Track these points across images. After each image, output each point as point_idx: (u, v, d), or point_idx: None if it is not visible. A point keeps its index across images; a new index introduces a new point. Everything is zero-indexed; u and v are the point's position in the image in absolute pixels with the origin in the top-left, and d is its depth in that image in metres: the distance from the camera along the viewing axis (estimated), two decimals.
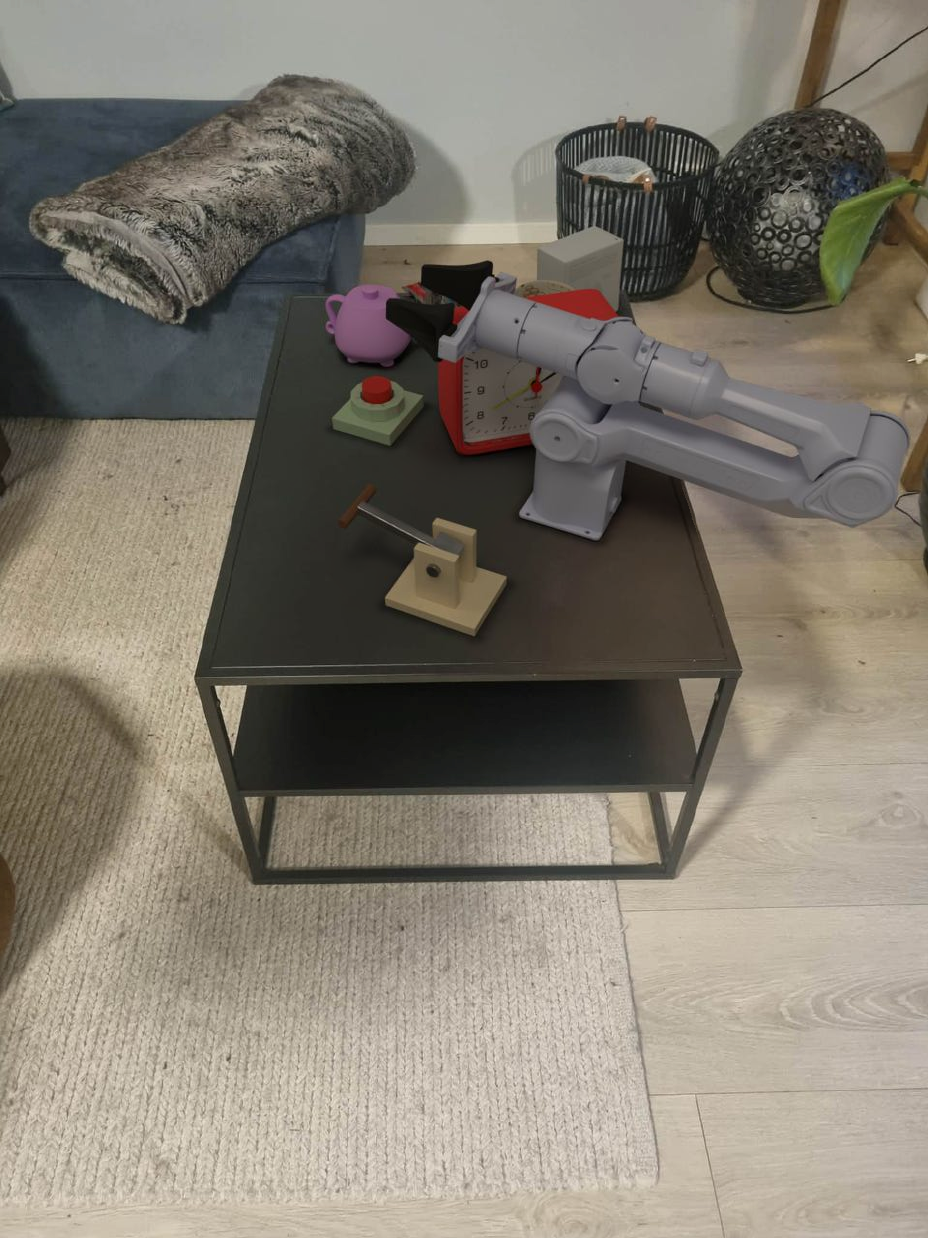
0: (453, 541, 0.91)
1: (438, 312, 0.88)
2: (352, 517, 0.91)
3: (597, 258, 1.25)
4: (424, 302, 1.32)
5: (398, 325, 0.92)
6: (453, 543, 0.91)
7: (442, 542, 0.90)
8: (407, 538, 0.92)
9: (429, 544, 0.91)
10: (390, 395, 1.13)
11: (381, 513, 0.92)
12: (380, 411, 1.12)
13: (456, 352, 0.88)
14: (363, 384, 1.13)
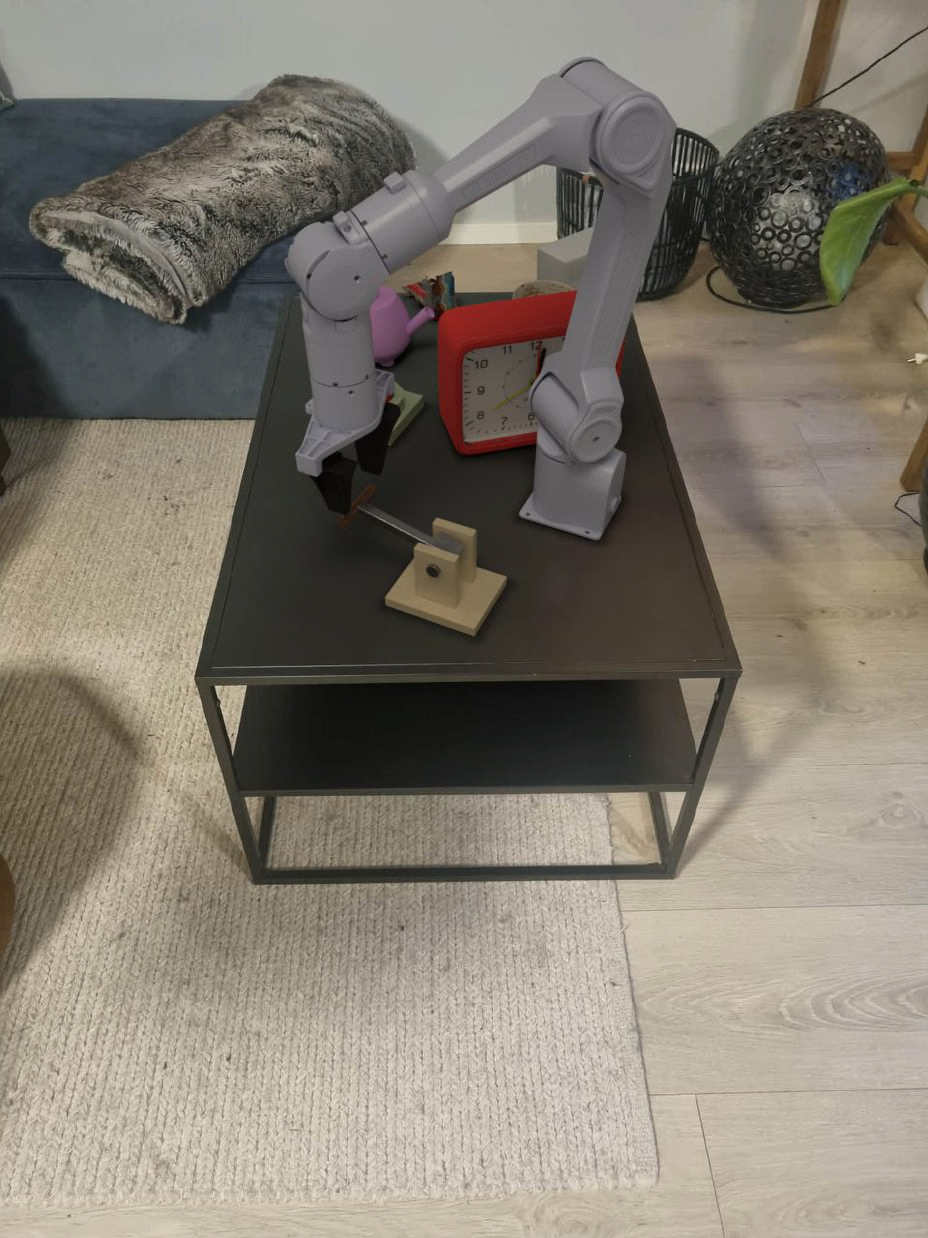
0: (453, 541, 0.91)
1: None
2: (352, 517, 0.91)
3: None
4: (424, 302, 1.32)
5: (344, 504, 0.87)
6: (453, 543, 0.91)
7: (442, 542, 0.90)
8: (407, 538, 0.92)
9: (429, 544, 0.91)
10: (390, 395, 1.13)
11: (381, 513, 0.92)
12: None
13: (303, 455, 0.80)
14: None
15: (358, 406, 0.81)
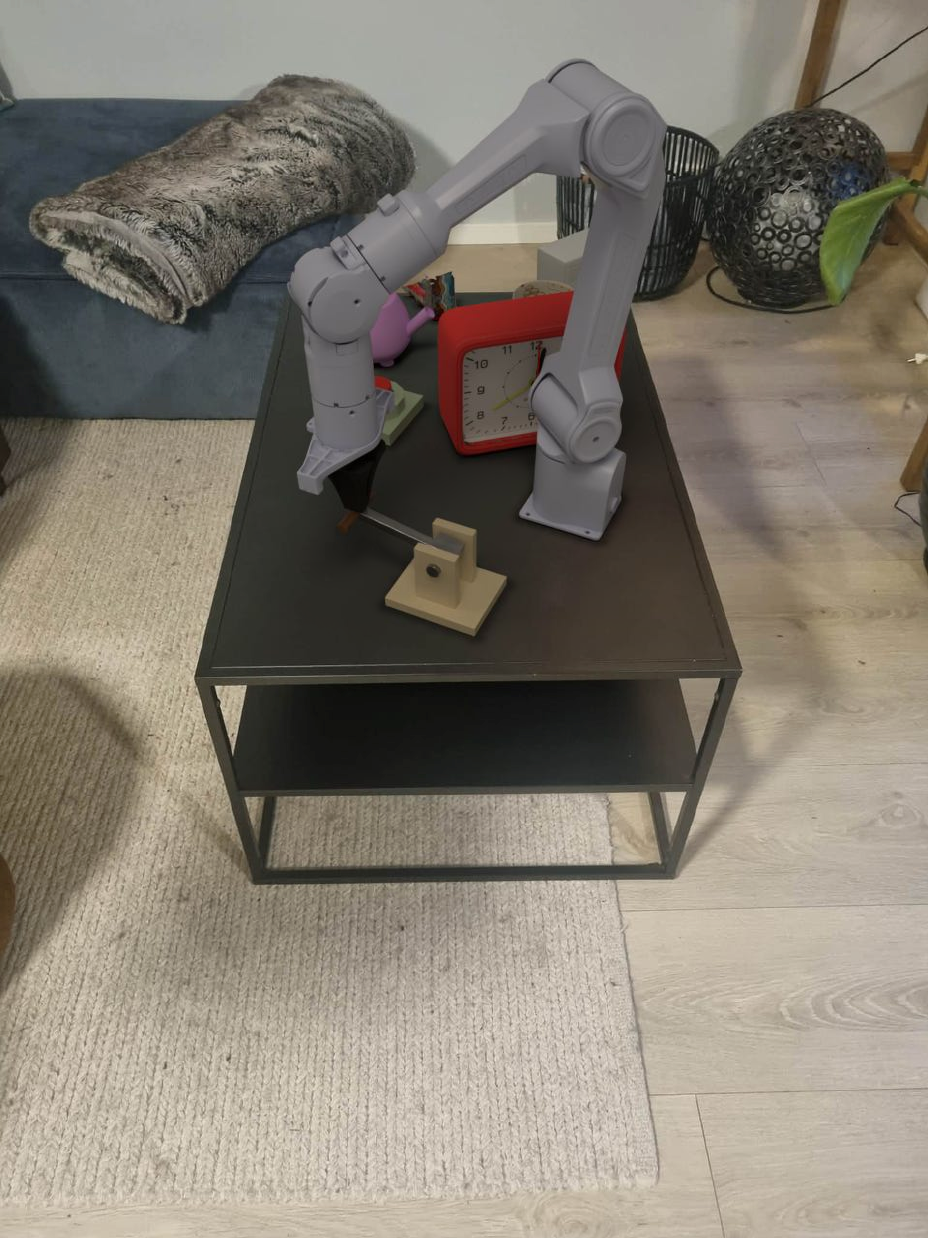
0: (452, 541, 0.91)
1: None
2: (351, 521, 0.91)
3: None
4: (424, 302, 1.32)
5: (360, 502, 0.90)
6: (452, 543, 0.91)
7: (442, 542, 0.90)
8: (407, 540, 0.92)
9: (429, 545, 0.91)
10: None
11: (380, 516, 0.92)
12: None
13: (304, 474, 0.81)
14: None
15: (358, 426, 0.82)
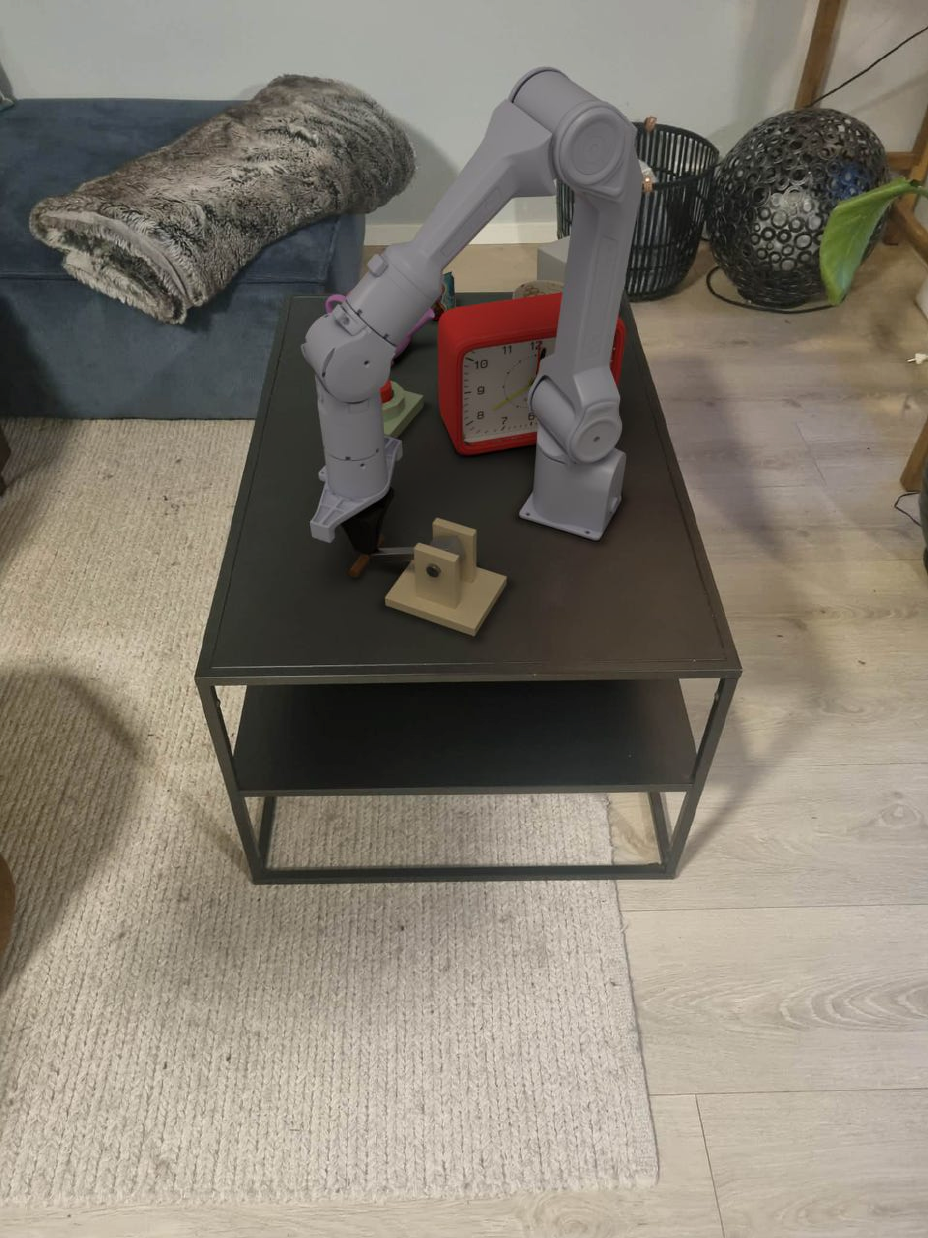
0: (445, 538, 0.91)
1: None
2: (361, 564, 0.95)
3: None
4: None
5: (369, 546, 0.94)
6: (446, 539, 0.91)
7: (436, 543, 0.91)
8: (411, 558, 0.93)
9: None
10: (390, 395, 1.13)
11: (385, 549, 0.95)
12: None
13: (317, 524, 0.85)
14: None
15: (369, 477, 0.86)
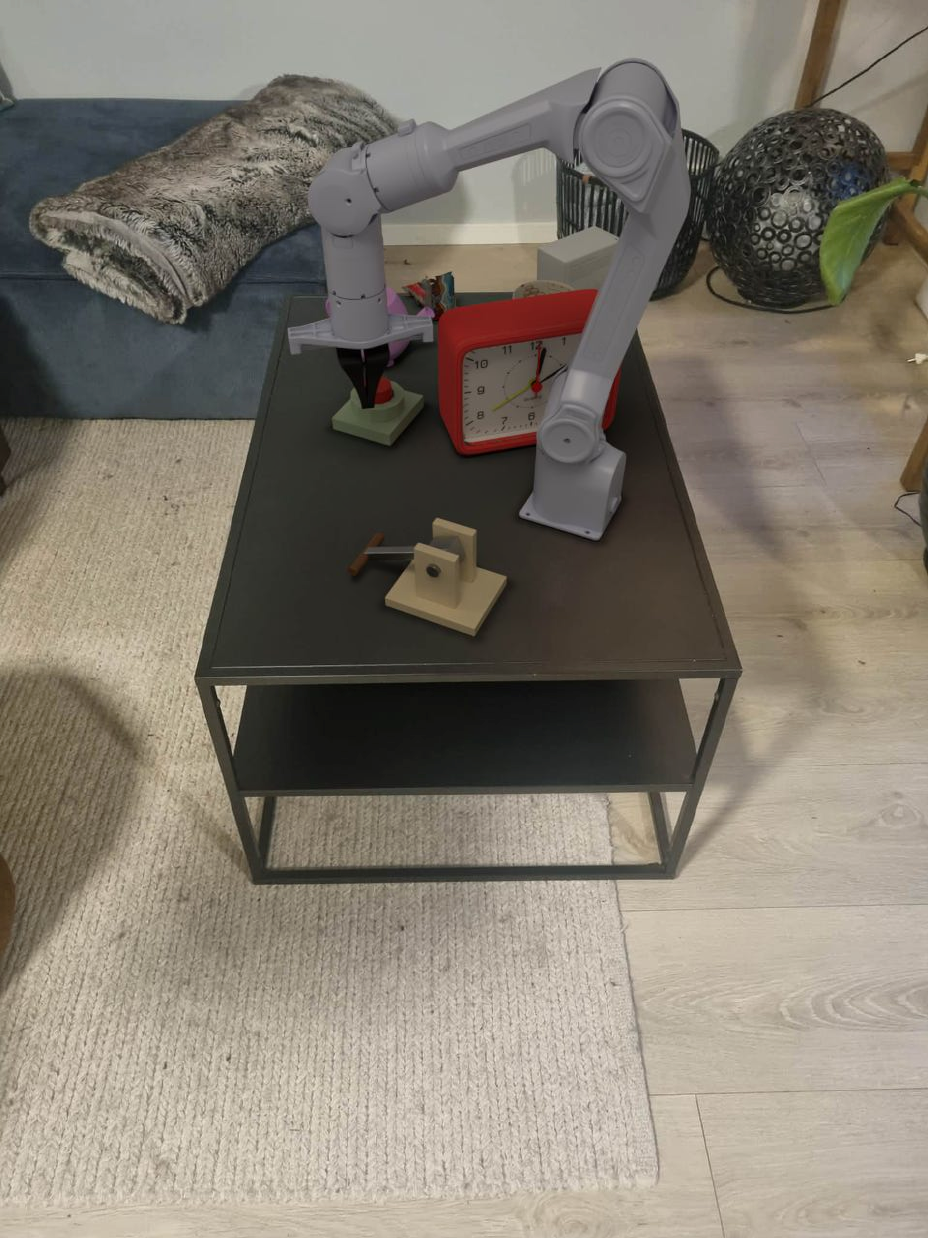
0: (446, 538, 0.91)
1: None
2: (360, 562, 0.95)
3: (597, 258, 1.25)
4: (424, 302, 1.32)
5: (359, 397, 0.99)
6: (446, 539, 0.91)
7: (436, 543, 0.91)
8: (411, 557, 0.93)
9: None
10: (390, 395, 1.13)
11: (384, 548, 0.95)
12: (380, 411, 1.12)
13: (288, 331, 0.93)
14: None
15: (344, 319, 0.90)
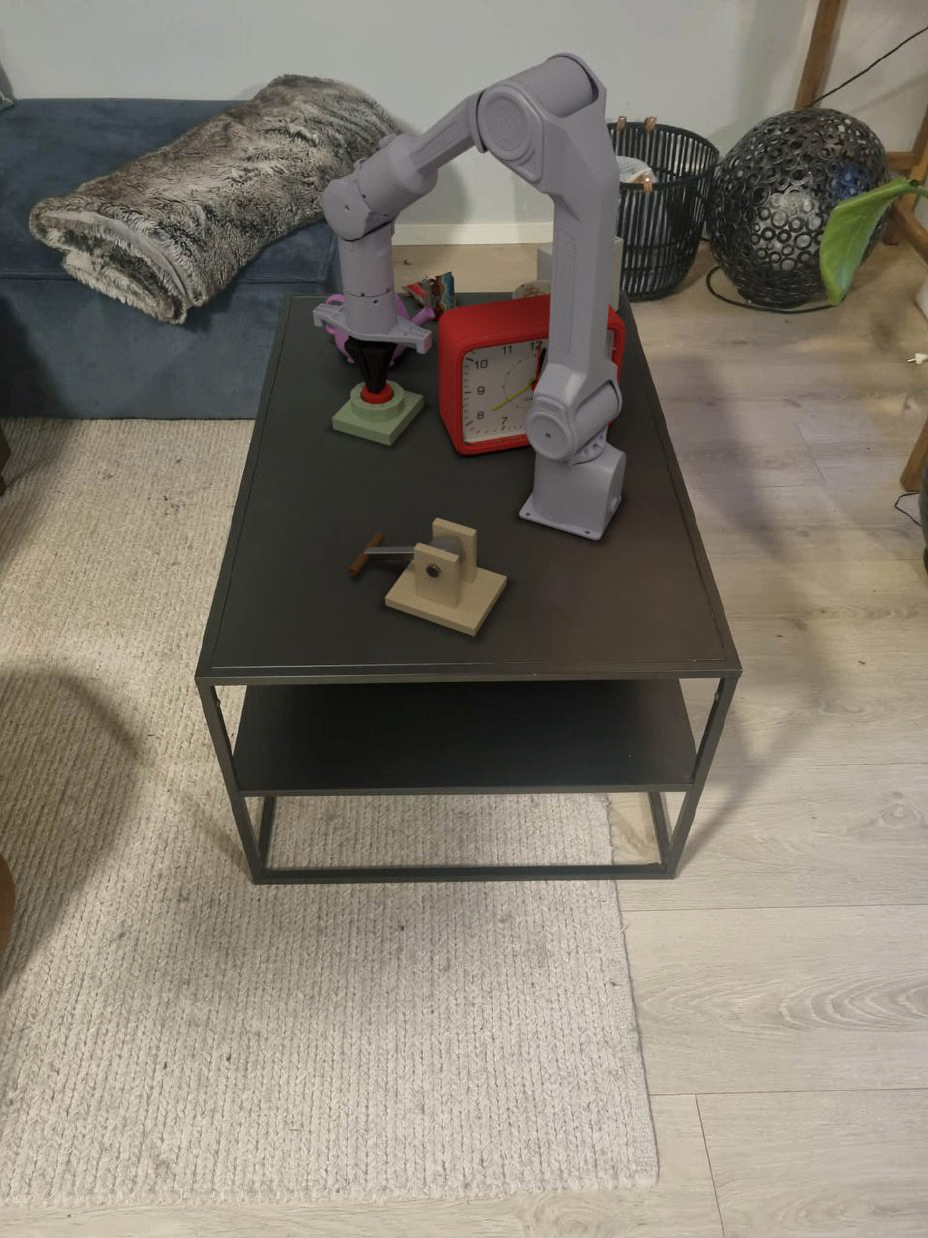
0: (446, 538, 0.91)
1: None
2: (360, 562, 0.95)
3: None
4: (424, 302, 1.32)
5: None
6: (446, 539, 0.91)
7: (436, 543, 0.91)
8: (411, 557, 0.93)
9: None
10: None
11: (384, 548, 0.95)
12: (380, 411, 1.12)
13: None
14: (363, 389, 1.13)
15: (346, 308, 1.04)
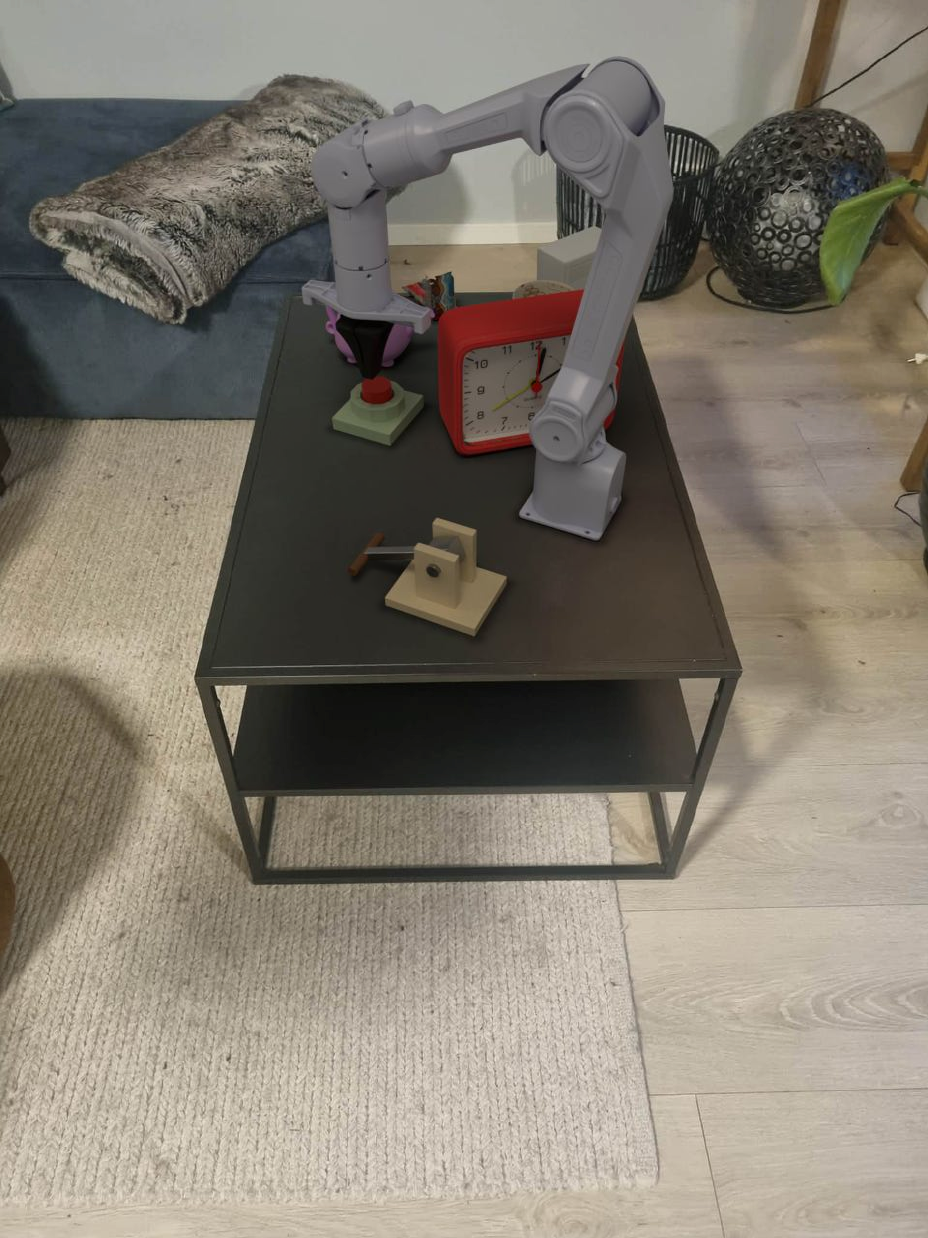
0: (446, 538, 0.91)
1: None
2: (360, 562, 0.95)
3: None
4: (424, 302, 1.32)
5: None
6: (446, 539, 0.91)
7: (436, 543, 0.91)
8: (411, 557, 0.93)
9: None
10: (390, 395, 1.13)
11: (384, 548, 0.95)
12: (380, 411, 1.12)
13: (307, 282, 1.00)
14: (363, 384, 1.13)
15: (337, 284, 0.95)
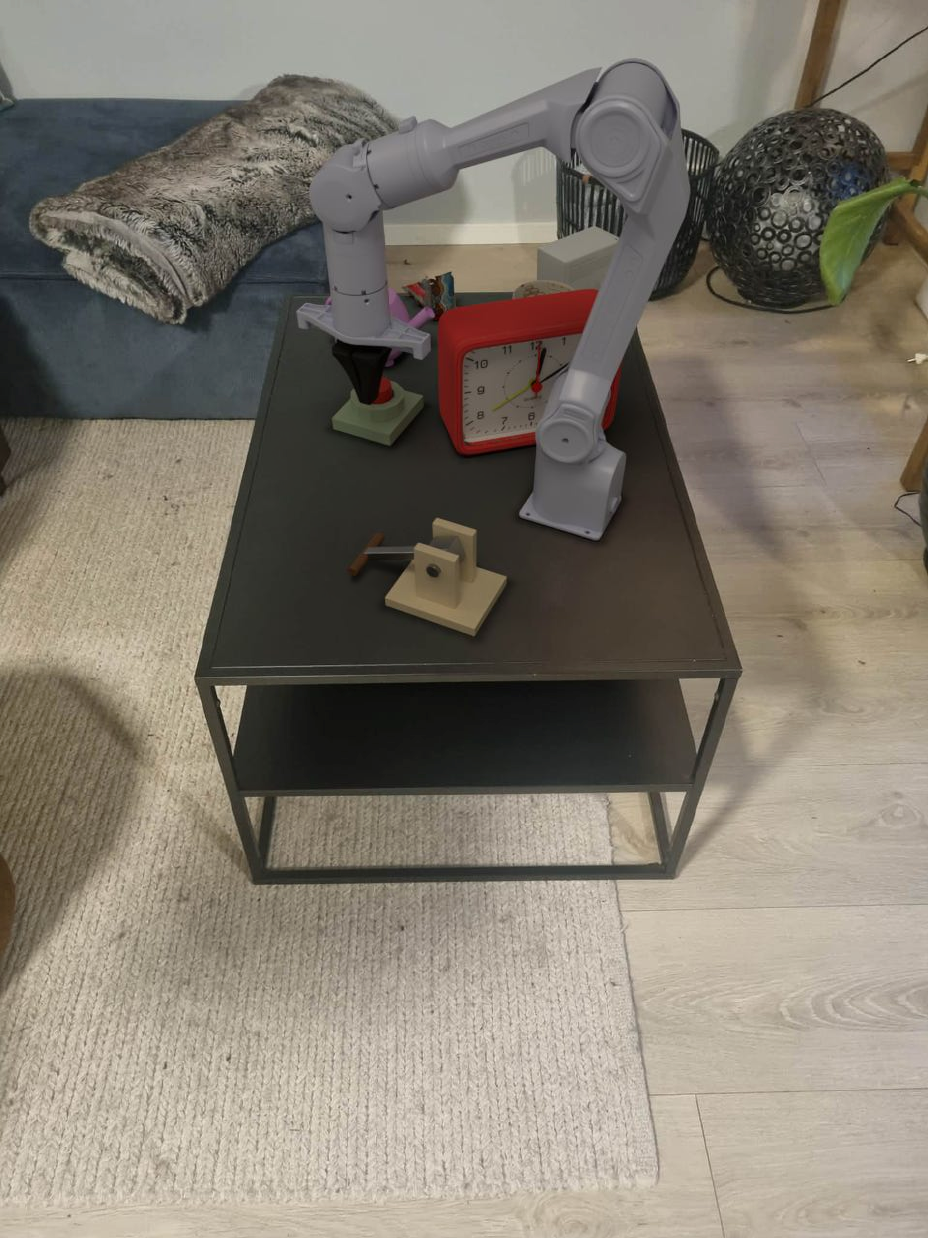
0: (446, 538, 0.91)
1: None
2: (360, 562, 0.95)
3: (597, 258, 1.25)
4: (424, 302, 1.32)
5: None
6: (446, 539, 0.91)
7: (436, 543, 0.91)
8: (411, 557, 0.93)
9: None
10: (390, 395, 1.13)
11: (384, 548, 0.95)
12: (380, 411, 1.12)
13: (302, 306, 0.97)
14: None
15: (334, 308, 0.92)
